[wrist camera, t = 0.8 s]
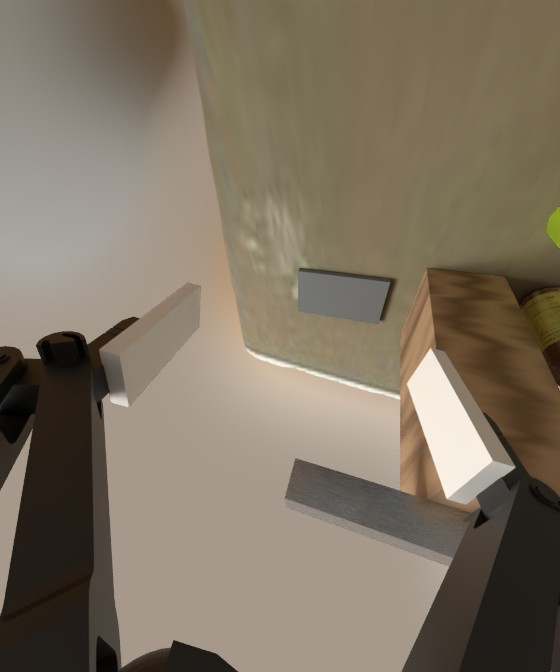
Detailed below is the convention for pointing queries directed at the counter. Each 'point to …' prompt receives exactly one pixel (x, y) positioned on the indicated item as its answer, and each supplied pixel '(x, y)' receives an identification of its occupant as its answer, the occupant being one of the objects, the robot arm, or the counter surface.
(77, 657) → the robot arm
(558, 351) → the sauce bottle
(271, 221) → the counter surface
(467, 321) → the brown wooden block
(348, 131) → the counter surface
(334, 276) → the base plate
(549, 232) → the soap dispenser
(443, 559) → the pin
